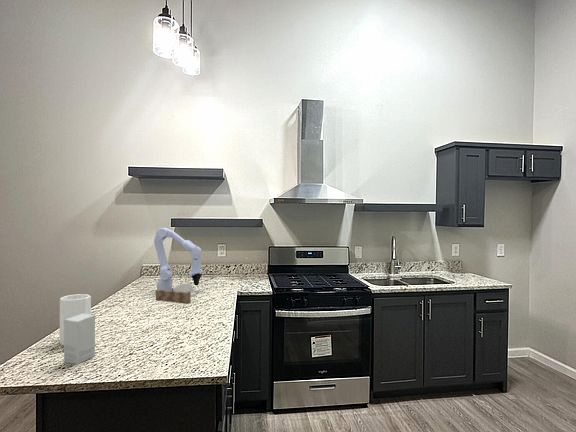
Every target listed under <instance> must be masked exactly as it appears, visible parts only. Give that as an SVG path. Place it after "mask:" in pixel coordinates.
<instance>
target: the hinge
mask: <svg viewBox="0 0 576 432" xmlns="http://www.w3.org/2000/svg"><path fill="white" fill-rule="evenodd" d="M171 291H178V292H188V291H190V293H191V299H192V298H196V297H197V293H196V292H195V289H194V287H193V284H191V283H180V284H177V285H175V286H172V289H171Z"/></svg>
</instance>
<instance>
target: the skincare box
mask: <svg viewBox="0 0 576 432" xmlns="http://www.w3.org/2000/svg"><path fill="white" fill-rule="evenodd" d="M95 345H96V315H95V314H92V313H91V314H79V315H76V316H74V317H71V318H68V319H65V320H64V346H63V362H64V363H67V364H73V365H79V364H81V363H83V362H86V361H87V360H89V359H91V358H93V357H95V356H96V346H95Z"/></svg>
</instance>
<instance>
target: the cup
mask: <svg viewBox="0 0 576 432" xmlns="http://www.w3.org/2000/svg"><path fill="white" fill-rule="evenodd" d="M91 307H92V296H91V295H89V294H86V293H85V294H84V293H83V294H80V293H78V294H69V295H65V296H61V297H60V298H59V344H60V345H61V346H63V347H64V320H65V319H68V318H71V317H74V316H76V315H79V314H91V315H92V308H91Z"/></svg>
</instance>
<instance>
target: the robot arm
mask: <svg viewBox="0 0 576 432" xmlns="http://www.w3.org/2000/svg"><path fill="white" fill-rule="evenodd" d="M167 238H171V239H173V240H175V241H176V242H178V243H179V244H181V245H182V248H184V249H185V250H186V251H187V252H189V253H191V255H192V256H191V257H192V258H191V271H190V272H189V273H188V277H191V278H192V280H193V284H194V286H198V285H199V284H200V280H201V278H202V274H204V273H205V271H204V269H202V255H201V254H202V251H203V250H202V248H201V247H200V246H198V245H197V244H194V243H193V242H192V241H191V240H189V239H187V240H185V238H183V237H182V236H180V235H179V234H178V233H176V232H175V231H174V230H172V229H170V228H168V227H160V228H159V229H157V231H156V232H155V236H154V240H153V243H154V247H155V251H156V255H157V259H158V262H159V265H160V269H159V272H160V274H159V277H160V279H158V281H157V283H156V290H167V291H169V290H171V289H172V288H173V278H172V277H173V276H174V272H173V270H172V269H171V267H170V265H169V263H168V257H167V255H166V249H165V248H164V247H165V246H164V244H163V243H164V241H165V239H167Z"/></svg>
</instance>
